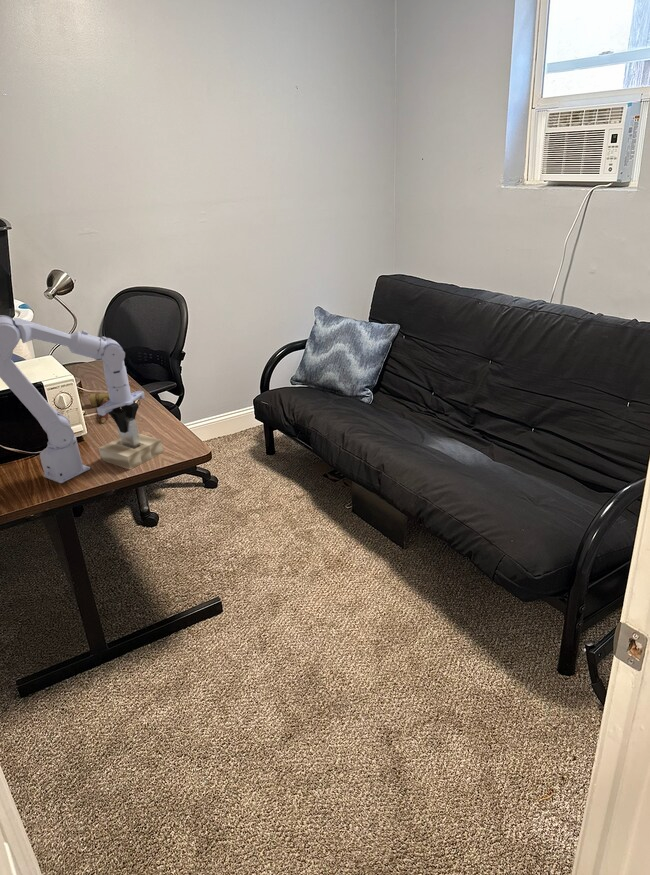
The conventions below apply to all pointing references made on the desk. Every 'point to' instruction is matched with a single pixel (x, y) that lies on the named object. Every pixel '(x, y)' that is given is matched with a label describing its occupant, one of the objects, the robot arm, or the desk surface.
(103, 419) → the gavel
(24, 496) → the desk surface
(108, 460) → the beige compartment tray
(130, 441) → the frosted upright panel
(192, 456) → the desk surface
